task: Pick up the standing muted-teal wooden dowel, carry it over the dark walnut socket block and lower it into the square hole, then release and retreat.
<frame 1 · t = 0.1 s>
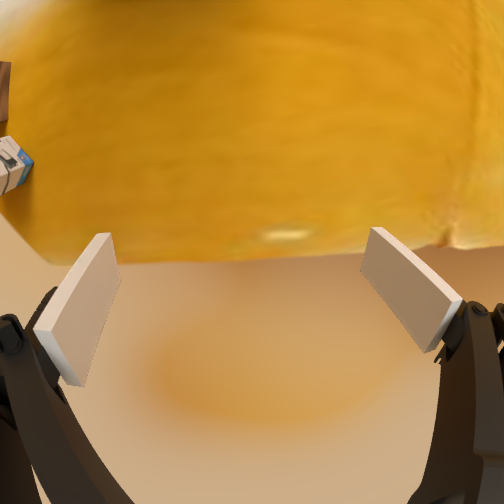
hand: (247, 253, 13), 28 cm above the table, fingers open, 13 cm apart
ink box: (16, 158, 30), on the table
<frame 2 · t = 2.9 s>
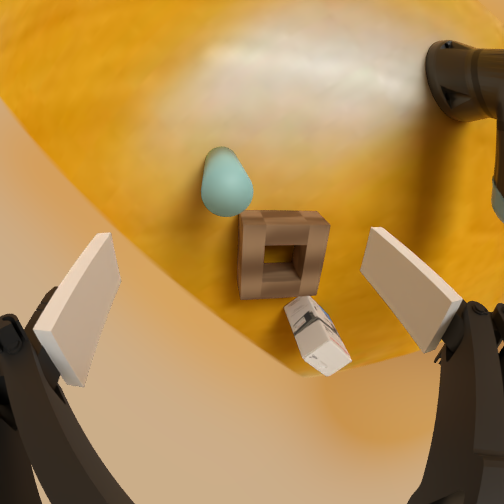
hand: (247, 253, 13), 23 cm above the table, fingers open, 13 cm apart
ink box: (306, 310, 47), on the table
socket block: (275, 246, 39), on the table
peg: (221, 162, 33), on the table
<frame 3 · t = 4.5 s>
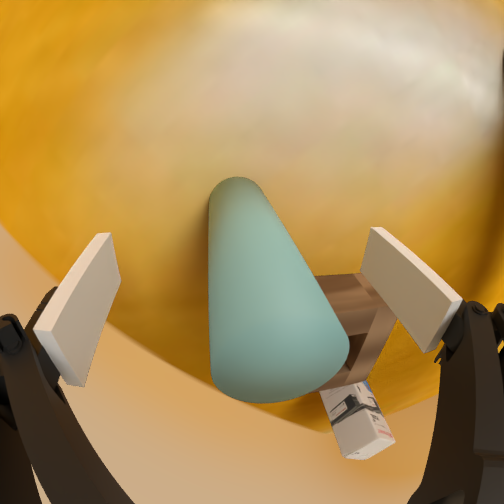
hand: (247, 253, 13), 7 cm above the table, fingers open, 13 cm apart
ink box: (342, 380, 33), on the table
socket block: (315, 321, 26), on the table
peg: (237, 204, 19), on the table
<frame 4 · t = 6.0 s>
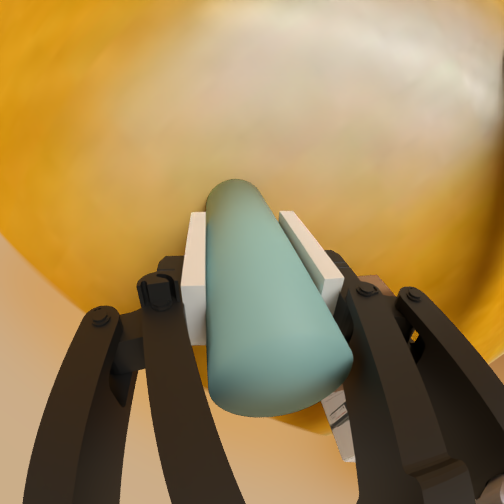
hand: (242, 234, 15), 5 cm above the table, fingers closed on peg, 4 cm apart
ink box: (342, 383, 33), on the table
socket block: (314, 325, 26), on the table
peg: (234, 207, 19), on the table, touching gripper
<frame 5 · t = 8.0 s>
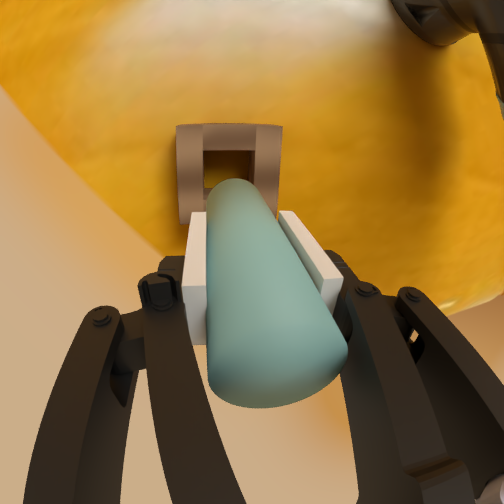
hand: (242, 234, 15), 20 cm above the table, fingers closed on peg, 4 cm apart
socket block: (226, 166, 32), on the table
peg: (234, 205, 19), point 15 cm above the table, touching gripper
when the fingers open (6 cm above the table, at t = 10.5 s): peg stays where it is, resting in socket block.
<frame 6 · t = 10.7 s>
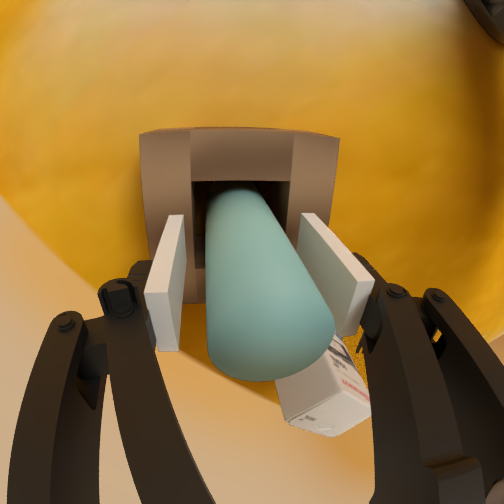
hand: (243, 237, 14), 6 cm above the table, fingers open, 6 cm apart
ink box: (299, 321, 27), on the table
socket block: (233, 200, 20), on the table
peg: (232, 200, 20), resting in socket block
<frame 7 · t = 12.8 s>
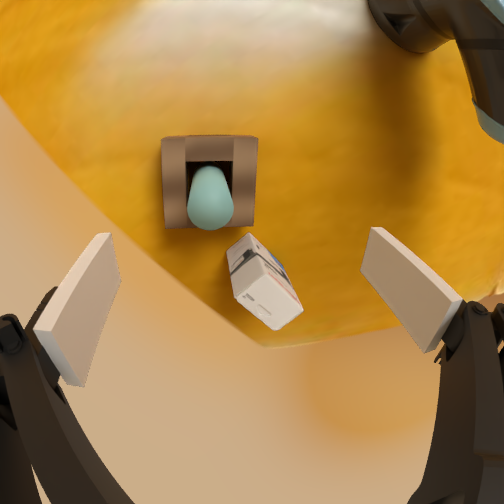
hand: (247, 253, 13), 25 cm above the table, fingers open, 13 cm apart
ink box: (254, 257, 43), on the table
socket block: (208, 175, 35), on the table
peg: (208, 175, 35), resting in socket block
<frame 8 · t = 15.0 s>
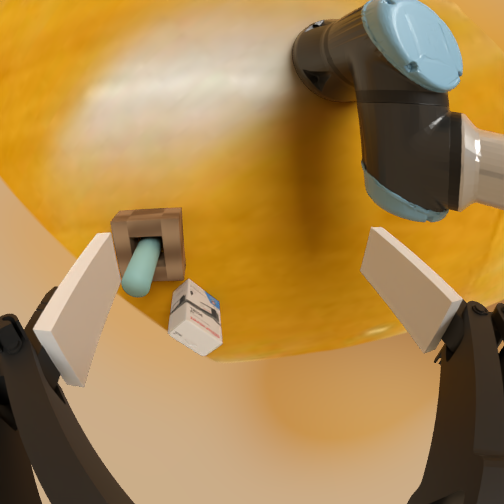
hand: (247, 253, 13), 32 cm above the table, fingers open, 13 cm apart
ink box: (196, 296, 53), on the table
socket block: (152, 238, 45), on the table
peg: (152, 238, 45), resting in socket block
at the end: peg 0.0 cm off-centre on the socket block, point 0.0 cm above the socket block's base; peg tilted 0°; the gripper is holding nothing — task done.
